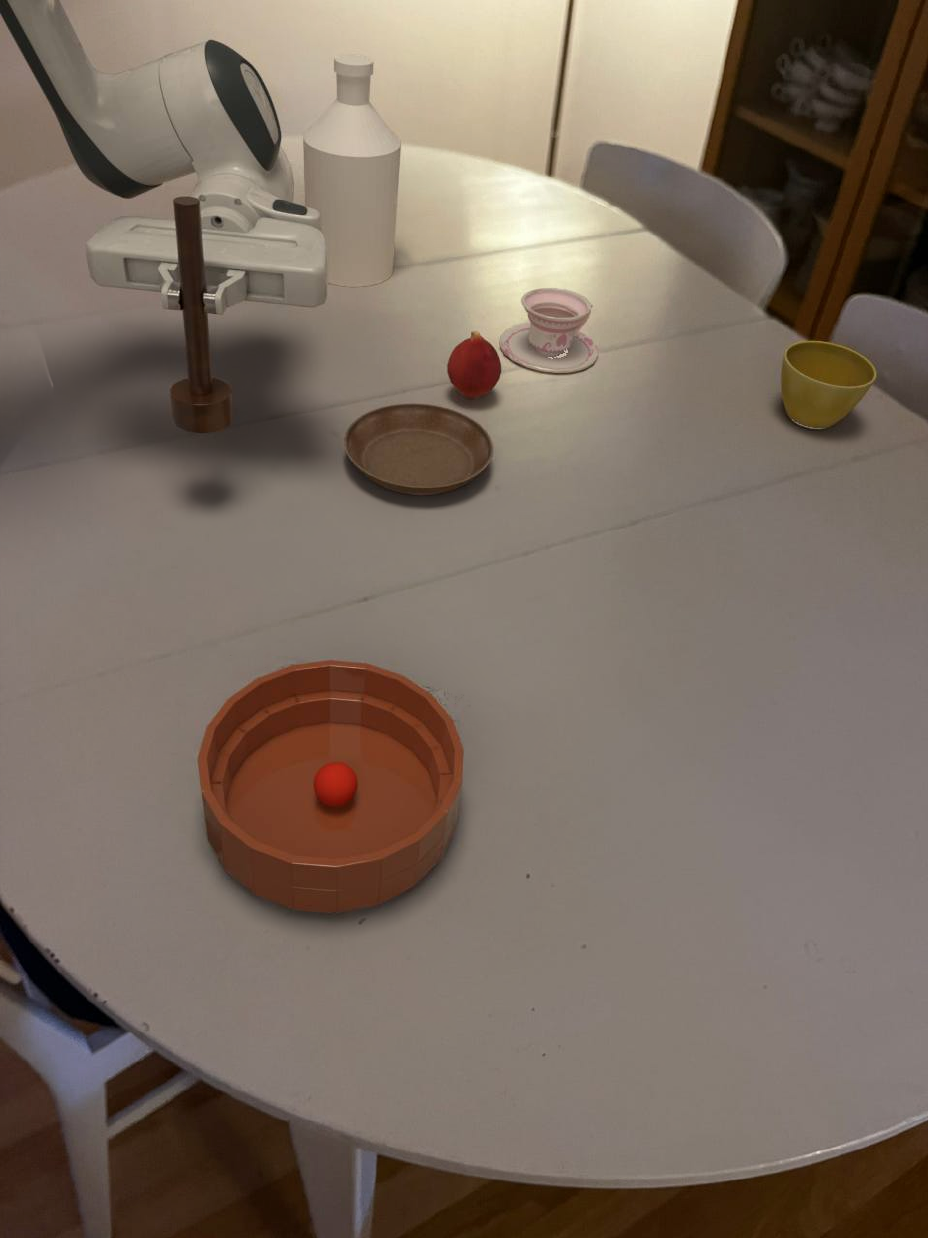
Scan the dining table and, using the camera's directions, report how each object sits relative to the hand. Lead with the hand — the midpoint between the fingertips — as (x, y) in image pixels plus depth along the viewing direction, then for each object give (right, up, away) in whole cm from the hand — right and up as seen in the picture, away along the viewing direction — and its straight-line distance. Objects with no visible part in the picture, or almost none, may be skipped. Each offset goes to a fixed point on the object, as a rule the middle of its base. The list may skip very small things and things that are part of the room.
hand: (191, 303), depth 83 cm
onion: (+23, -1, +31) cm, 39 cm away
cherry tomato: (+13, -37, -13) cm, 41 cm away
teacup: (+32, +7, +41) cm, 52 cm away
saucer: (+17, -10, +21) cm, 29 cm away
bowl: (+13, -39, -11) cm, 42 cm away
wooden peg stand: (-1, -8, +8) cm, 11 cm away
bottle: (+7, +21, +52) cm, 57 cm away
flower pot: (+62, -3, +35) cm, 71 cm away
